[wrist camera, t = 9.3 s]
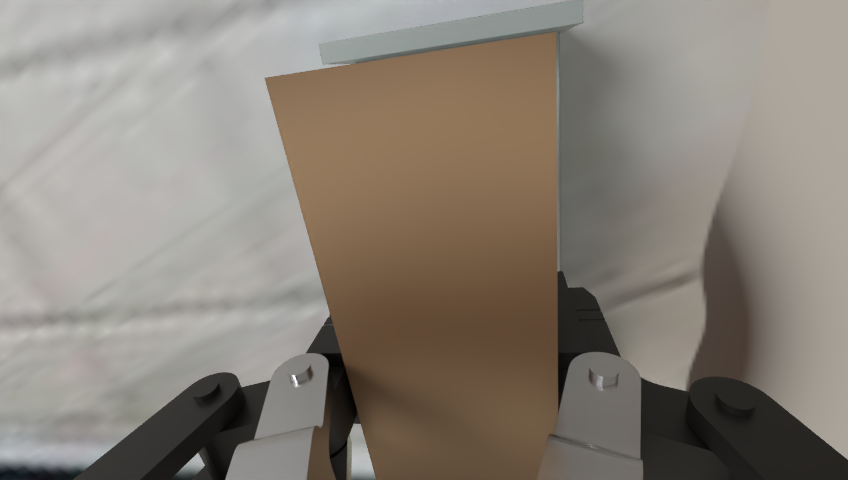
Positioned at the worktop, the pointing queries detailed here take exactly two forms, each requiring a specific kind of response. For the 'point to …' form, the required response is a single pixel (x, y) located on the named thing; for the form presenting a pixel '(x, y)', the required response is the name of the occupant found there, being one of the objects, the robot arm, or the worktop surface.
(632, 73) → the worktop surface
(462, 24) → the pale blue tray
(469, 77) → the walnut bar
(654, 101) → the worktop surface
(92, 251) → the worktop surface
